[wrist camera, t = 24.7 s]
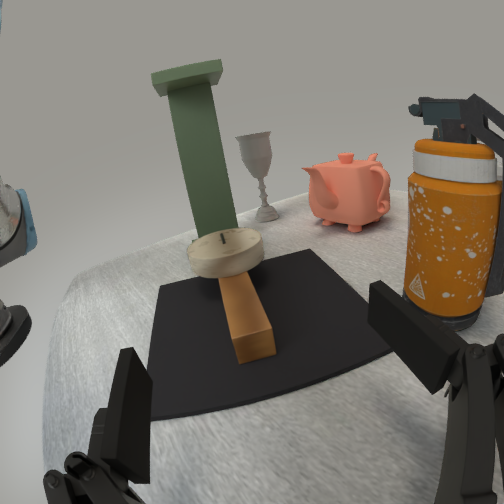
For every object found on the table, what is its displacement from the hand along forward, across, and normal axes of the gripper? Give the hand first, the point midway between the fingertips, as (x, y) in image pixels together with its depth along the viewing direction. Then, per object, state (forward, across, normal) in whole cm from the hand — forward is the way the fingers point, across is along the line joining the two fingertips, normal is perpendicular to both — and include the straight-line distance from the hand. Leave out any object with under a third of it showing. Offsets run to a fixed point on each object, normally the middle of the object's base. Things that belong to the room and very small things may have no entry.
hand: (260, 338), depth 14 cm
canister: (+3, +19, -8) cm, 21 cm away
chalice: (+45, +11, -8) cm, 47 cm away
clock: (+14, 0, -7) cm, 16 cm away
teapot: (+32, +24, -8) cm, 40 cm away
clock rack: (+33, 0, -8) cm, 33 cm away
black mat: (+13, +1, -8) cm, 15 cm away
